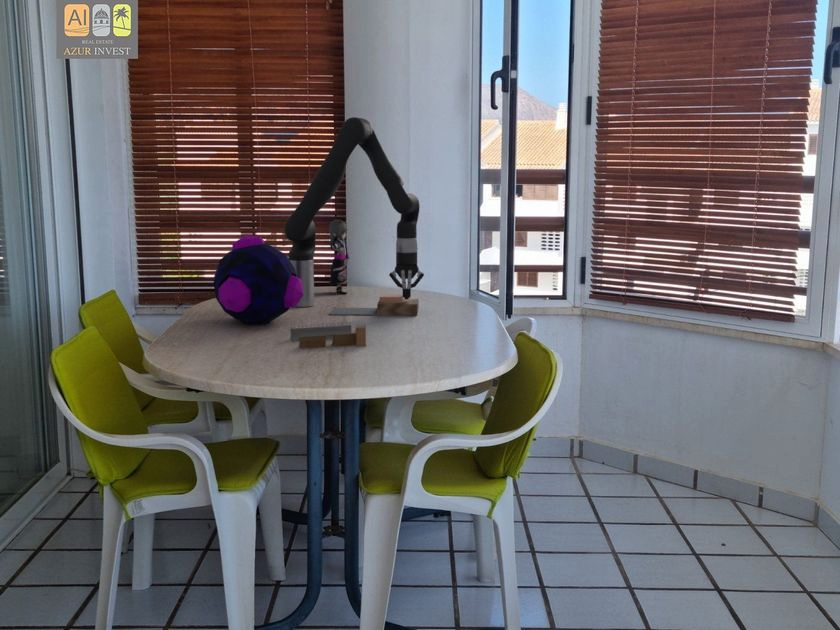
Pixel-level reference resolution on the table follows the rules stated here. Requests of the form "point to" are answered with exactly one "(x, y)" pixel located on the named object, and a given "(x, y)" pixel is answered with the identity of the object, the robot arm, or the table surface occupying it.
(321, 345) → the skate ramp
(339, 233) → the figurine
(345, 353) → the table surface
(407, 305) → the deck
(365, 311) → the mat
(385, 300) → the salmon pink rectangular block
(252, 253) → the sculpture
